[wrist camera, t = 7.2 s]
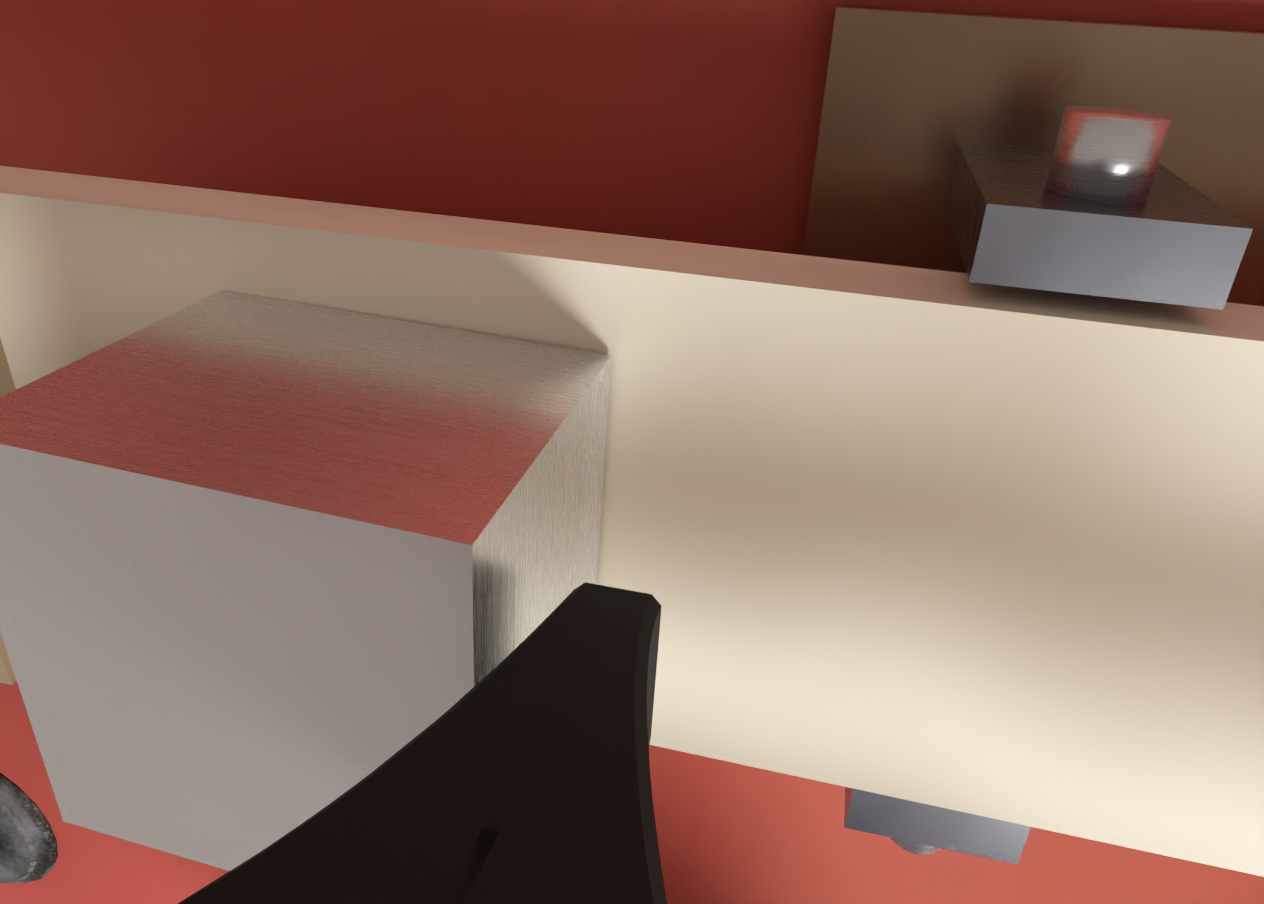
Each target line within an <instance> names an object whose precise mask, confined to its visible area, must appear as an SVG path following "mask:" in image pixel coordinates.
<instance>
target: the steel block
mask: <svg viewBox="0 0 1264 904" xmlns="http://www.w3.org/2000/svg"><path fill="white" fill-rule="evenodd" d="M610 371H611V355H605V354H599V353H593V352H588V351H582V350H576V349H570V348H564V347H558V346H552V345H546V344H540V343H534V342H528V341H523V340H517V339H511V338H505V337H499V336H493V335H487V334H481V333H475V332H469V331H463V330H458V329H452V328H446V327H440V326H434V325H428V324H422V323H416V322H410V321H404V320H398V319H393V318H387V317H381V316H375V315H369V314H363V313H357V312H351V311H345V310H339V309H333V308H328V307H322V306H316V305H310V304H304V303H298V302H292V301H286V300H280V299H274V298H269V297H263V296H257V295H251V294H245V293H239V292H233V291H227V290H222V291H220V292H217V293H215V294H213V295H211V296H209V297H207V298H205V299H203V300H201V301H199V302H197V303H195V304H193V305H191V306H188V307H186V308H184V309H182V310H180V311H178V312H176V313H174V314H172V315H170V316H168V317H166V318H164V319H161V320H159V321H157V322H155V323H153V324H151V325H149V326H147V327H145V328H143V329H141V330H139V331H137V332H135V333H132V334H130V335H128V336H126V337H124V338H122V339H120V340H118V341H116V342H114V343H112V344H110V345H108V346H105V347H103V348H101V349H99V350H97V351H95V352H93V353H91V354H89V355H87V356H85V357H83V358H81V359H79V360H76V361H74V362H72V363H70V364H68V365H66V366H64V367H62V368H60V369H58V370H56V371H54V372H52V373H49V374H47V375H45V376H43V377H41V378H39V379H37V380H35V381H33V382H31V383H29V384H27V385H25V386H23V387H20V388H18V389H16V390H14V391H12V392H10V393H8V394H6V395H4V396H2V397H0V632H1V635H2V638H3V641H4V644H5V647H6V650H7V653H8V656H9V659H10V662H11V665H12V668H13V671H14V674H15V677H16V680H17V683H18V686H19V689H20V692H21V695H22V698H23V701H24V704H25V707H26V710H27V713H28V716H29V719H30V722H31V725H32V728H33V731H34V735H35V738H36V741H37V744H38V747H39V750H40V753H41V756H42V759H43V762H44V765H45V768H46V771H47V774H48V777H49V780H50V783H51V786H52V789H53V792H54V795H55V798H56V801H57V804H58V807H59V810H60V813H61V816H62V819H63V821H64V822H67V823H71V824H74V825H77V826H81V827H84V828H87V829H91V830H94V831H97V832H101V833H104V834H107V835H111V836H114V837H117V838H121V839H124V840H127V841H131V842H134V843H137V844H141V845H144V846H147V847H151V848H154V849H157V850H161V851H164V852H167V853H171V854H174V855H177V856H181V857H184V858H187V859H191V860H194V861H197V862H201V863H204V864H207V865H211V866H214V867H217V868H221V869H224V870H227V871H231V870H232V869H234V868H236V867H237V866H239V865H240V864H242V863H243V862H245V861H247V860H248V859H250V858H251V857H253V856H255V855H256V854H258V853H259V852H261V851H262V850H264V849H265V848H267V847H268V846H270V845H271V844H273V843H274V842H276V841H277V840H279V839H280V838H281V837H283V836H284V835H286V834H287V833H289V832H290V831H292V830H293V829H295V828H296V827H297V826H299V825H300V824H302V823H303V822H305V821H306V820H308V819H309V818H311V817H312V816H313V815H315V814H316V813H318V812H319V811H320V810H322V809H323V808H325V807H326V806H327V805H329V804H330V803H331V802H333V801H334V800H336V799H337V798H338V797H340V796H341V795H342V794H344V793H345V792H346V791H348V790H349V789H350V788H352V787H353V786H354V785H356V784H357V783H358V782H360V781H361V780H362V779H364V778H365V777H366V776H368V775H369V774H370V773H372V772H373V771H374V770H375V769H377V768H378V767H379V766H380V765H382V764H383V763H384V762H385V761H386V760H388V759H389V758H390V757H391V756H393V755H394V754H395V753H396V752H398V751H399V750H400V749H401V748H403V747H404V746H405V745H406V744H408V743H409V742H410V741H411V740H412V739H414V738H415V737H416V736H417V735H419V734H420V733H421V732H422V731H424V730H425V729H426V728H427V727H429V726H430V725H431V724H432V723H434V722H435V721H436V720H437V719H438V718H439V717H441V716H442V715H443V714H444V713H445V712H446V711H448V710H449V709H450V708H451V707H452V706H453V705H454V704H455V703H457V702H458V701H459V700H460V699H461V698H462V697H463V696H464V695H465V694H467V693H468V692H469V691H470V690H471V689H472V688H473V687H474V686H475V685H477V684H478V683H479V682H480V681H481V680H482V679H483V678H484V677H485V676H487V675H488V674H489V673H490V672H491V671H492V670H493V669H494V668H495V667H497V666H498V665H499V664H500V663H501V662H502V661H503V660H504V659H505V658H506V657H507V656H508V655H509V654H510V653H511V652H512V651H513V650H515V649H516V648H517V647H518V646H519V645H520V644H521V643H522V642H523V641H524V640H525V639H526V638H527V637H528V636H529V635H530V634H531V633H532V632H533V631H534V630H535V629H536V628H537V627H538V626H539V625H540V624H541V623H542V622H543V621H544V620H545V619H546V618H547V617H548V616H549V615H550V614H551V613H552V612H553V611H554V610H555V609H556V608H557V607H558V606H559V605H560V604H561V603H562V602H563V601H564V600H565V599H566V597H567V596H568V595H569V594H570V593H571V592H572V591H573V590H574V589H576V588H577V587H579V586H580V585H582V584H583V583H585V582H586V583H592V584H596V580H597V565H598V550H599V535H600V520H601V505H602V491H603V476H604V461H605V446H606V431H607V416H608V401H609V386H610Z"/></svg>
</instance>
